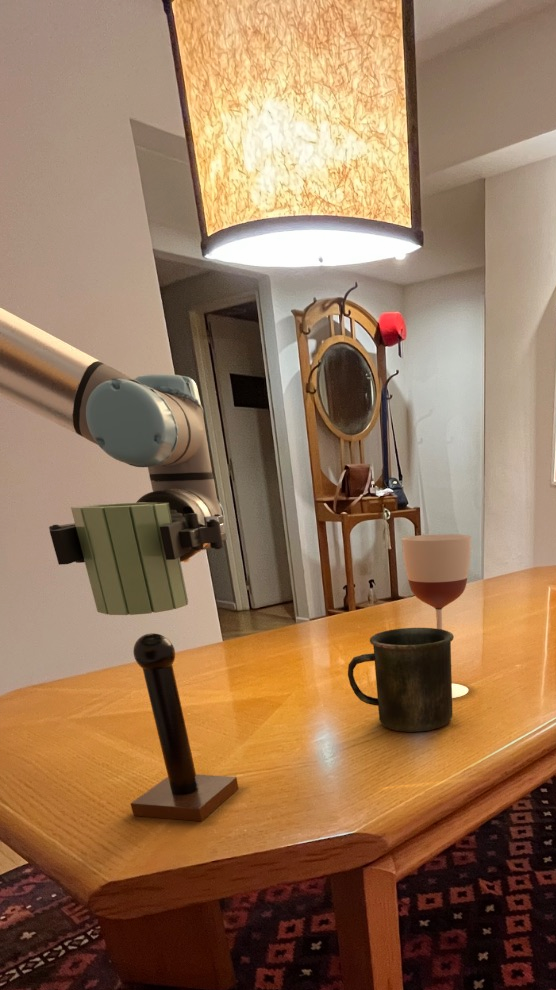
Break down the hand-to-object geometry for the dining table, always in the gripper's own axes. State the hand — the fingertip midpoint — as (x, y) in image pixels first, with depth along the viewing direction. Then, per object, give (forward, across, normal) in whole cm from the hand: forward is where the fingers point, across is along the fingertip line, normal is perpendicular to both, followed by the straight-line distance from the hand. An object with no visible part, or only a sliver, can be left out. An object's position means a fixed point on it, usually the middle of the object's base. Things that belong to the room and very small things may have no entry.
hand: (113, 545), depth 58 cm
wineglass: (-39, -33, -27) cm, 57 cm away
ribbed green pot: (-5, 0, -6) cm, 8 cm away
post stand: (-5, 0, -27) cm, 27 cm away
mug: (-25, -26, -27) cm, 45 cm away
